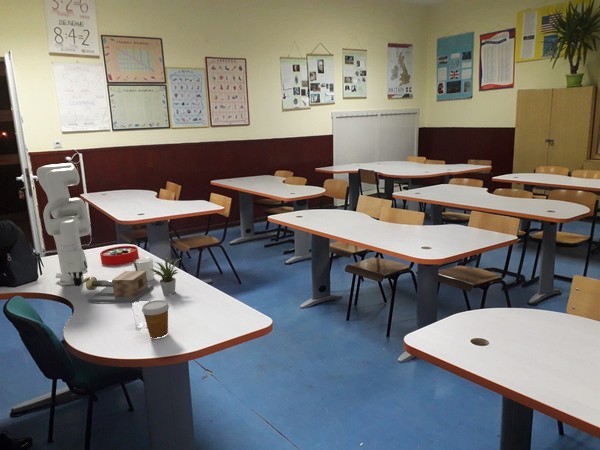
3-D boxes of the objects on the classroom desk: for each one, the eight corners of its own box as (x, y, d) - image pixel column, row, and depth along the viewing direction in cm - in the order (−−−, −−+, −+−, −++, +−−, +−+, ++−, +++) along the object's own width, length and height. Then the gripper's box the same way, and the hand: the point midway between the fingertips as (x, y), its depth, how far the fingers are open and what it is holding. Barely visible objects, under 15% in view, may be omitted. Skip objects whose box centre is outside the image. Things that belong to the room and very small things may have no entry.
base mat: (88, 302, 215) (87, 299, 215) (109, 287, 232) (109, 284, 232) (134, 302, 212) (134, 299, 211) (153, 287, 229) (152, 284, 228)
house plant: (176, 284, 232) (172, 251, 228) (192, 290, 222) (188, 256, 218) (149, 293, 222) (144, 258, 218) (164, 300, 212) (160, 264, 209)
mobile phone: (144, 264, 251) (137, 256, 264) (138, 265, 250) (131, 257, 262) (145, 273, 252) (138, 265, 265) (139, 274, 251) (132, 266, 264)
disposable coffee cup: (140, 338, 177) (135, 307, 174) (159, 327, 185) (155, 298, 182) (158, 343, 172) (154, 311, 169) (178, 332, 180) (174, 302, 177)
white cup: (158, 278, 242) (155, 259, 240) (143, 283, 236) (141, 263, 234) (149, 275, 247) (147, 256, 245) (135, 279, 242) (132, 260, 239)
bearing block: (114, 296, 216) (111, 279, 214) (127, 287, 227) (125, 271, 226) (135, 296, 214) (133, 279, 212) (147, 287, 226) (145, 270, 224)
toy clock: (143, 249, 275) (108, 258, 262) (145, 259, 277) (110, 268, 264) (128, 243, 290) (94, 251, 277) (129, 253, 291) (96, 261, 278)
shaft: (86, 292, 221) (84, 279, 220) (94, 287, 227) (92, 275, 225) (123, 292, 218) (121, 279, 217) (130, 287, 224) (128, 275, 222)
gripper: (51, 249, 218) (58, 288, 222) (82, 249, 215) (88, 288, 219) (62, 244, 225) (68, 282, 229) (91, 244, 222) (98, 282, 227)
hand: (78, 285), depth 224 cm, fingers closed
